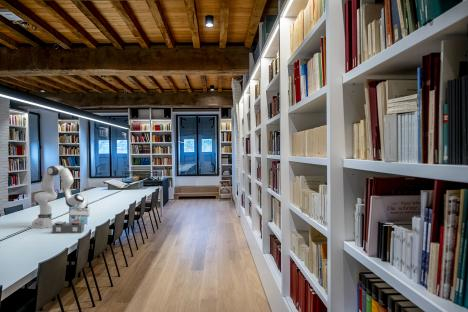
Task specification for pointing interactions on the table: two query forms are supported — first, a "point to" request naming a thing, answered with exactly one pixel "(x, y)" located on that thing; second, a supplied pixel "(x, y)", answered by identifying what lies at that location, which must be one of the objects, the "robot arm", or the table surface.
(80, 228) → the switch block
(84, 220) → the gum box
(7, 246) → the table surface
